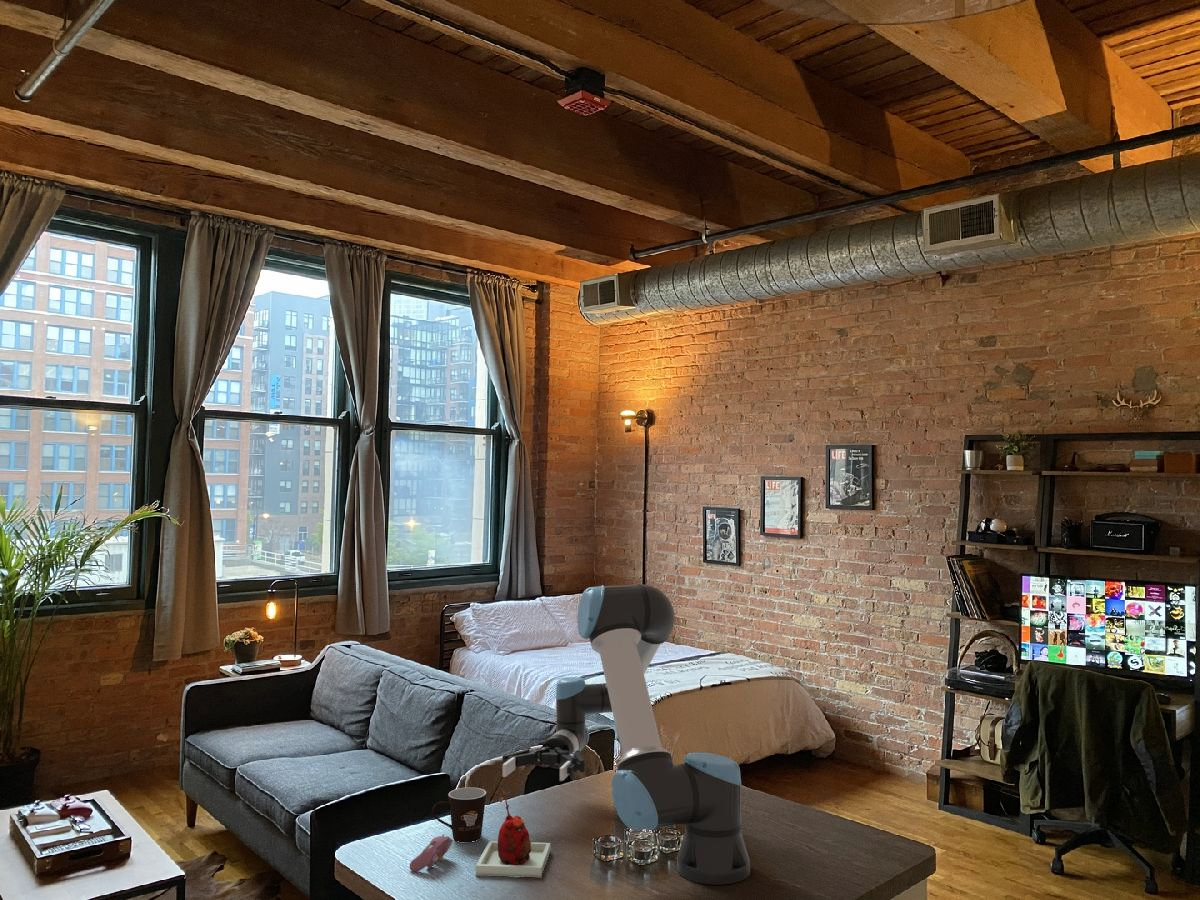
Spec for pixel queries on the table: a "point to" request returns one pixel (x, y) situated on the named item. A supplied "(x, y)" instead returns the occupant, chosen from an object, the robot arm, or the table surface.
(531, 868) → the sage tray
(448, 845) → the pink animal figurine
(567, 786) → the table surface
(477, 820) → the coffee mug
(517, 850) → the red bumpy rounded piece
